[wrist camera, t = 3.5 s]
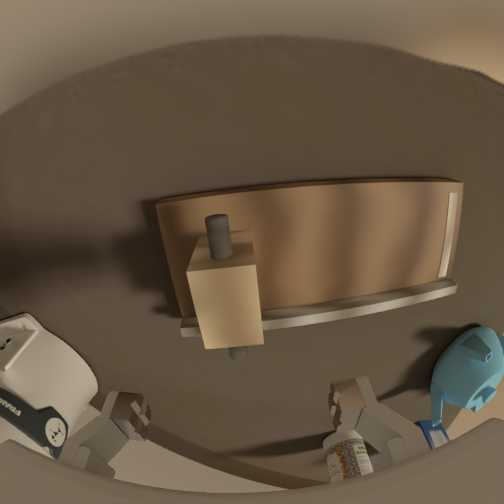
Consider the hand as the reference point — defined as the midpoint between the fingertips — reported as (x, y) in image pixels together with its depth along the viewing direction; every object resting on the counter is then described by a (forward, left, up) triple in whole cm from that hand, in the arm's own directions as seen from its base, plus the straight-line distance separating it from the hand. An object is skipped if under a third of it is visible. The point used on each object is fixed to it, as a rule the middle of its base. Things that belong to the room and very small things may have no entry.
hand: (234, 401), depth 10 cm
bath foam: (+14, -37, -15) cm, 42 cm away
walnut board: (+9, 0, -15) cm, 17 cm away
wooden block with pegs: (0, 0, -13) cm, 13 cm away
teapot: (+34, -22, -15) cm, 43 cm away
